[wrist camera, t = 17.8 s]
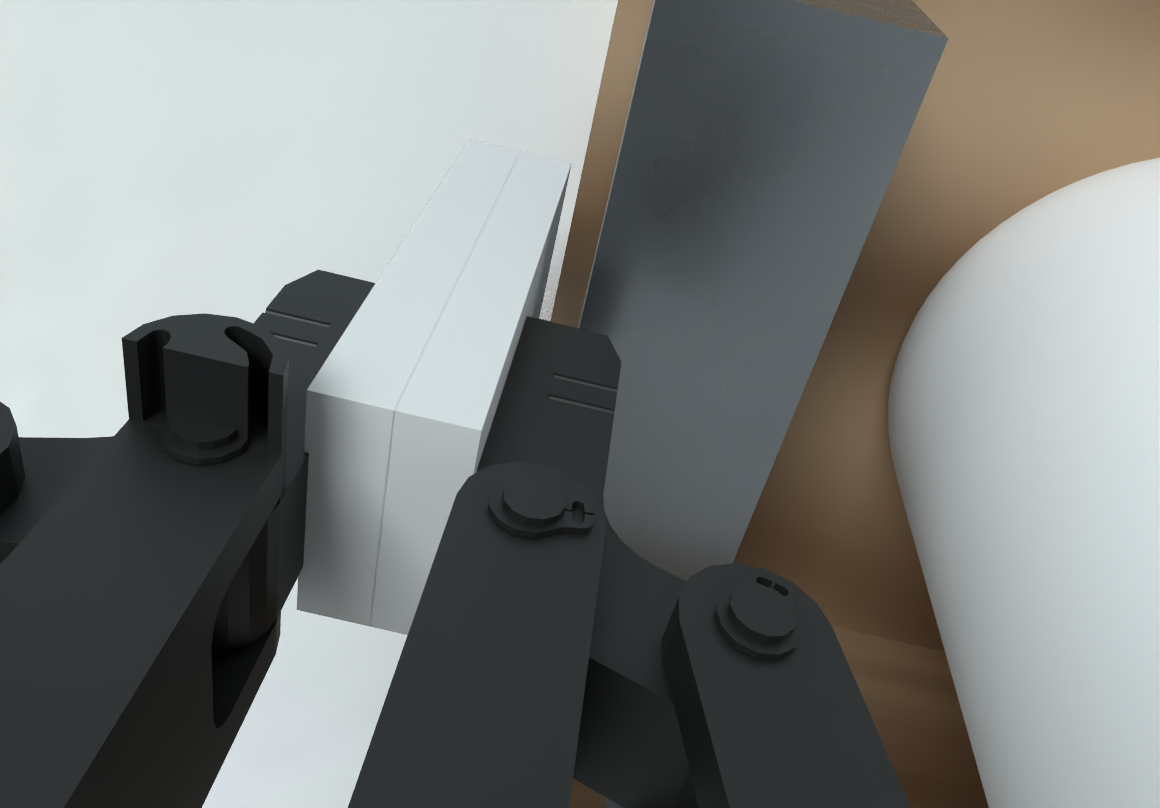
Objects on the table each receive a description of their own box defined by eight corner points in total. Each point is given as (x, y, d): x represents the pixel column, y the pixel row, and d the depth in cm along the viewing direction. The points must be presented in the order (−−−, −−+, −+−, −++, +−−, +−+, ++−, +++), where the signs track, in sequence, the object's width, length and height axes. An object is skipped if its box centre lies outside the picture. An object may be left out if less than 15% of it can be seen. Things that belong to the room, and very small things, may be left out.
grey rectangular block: (672, -81, 13) (662, -31, 9) (884, -30, 13) (949, 37, 9) (553, 434, 18) (519, 584, 14) (705, 469, 18) (706, 626, 15)
